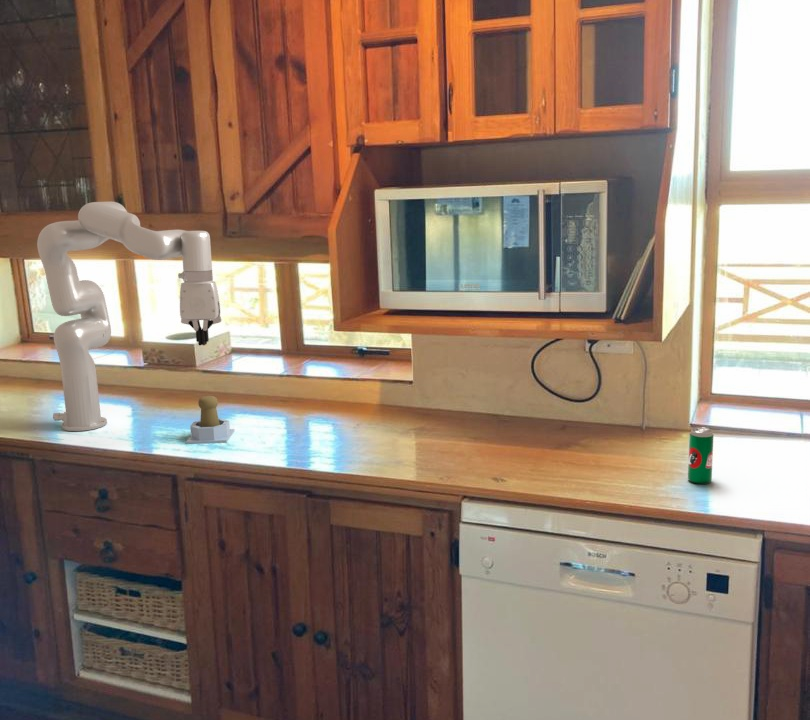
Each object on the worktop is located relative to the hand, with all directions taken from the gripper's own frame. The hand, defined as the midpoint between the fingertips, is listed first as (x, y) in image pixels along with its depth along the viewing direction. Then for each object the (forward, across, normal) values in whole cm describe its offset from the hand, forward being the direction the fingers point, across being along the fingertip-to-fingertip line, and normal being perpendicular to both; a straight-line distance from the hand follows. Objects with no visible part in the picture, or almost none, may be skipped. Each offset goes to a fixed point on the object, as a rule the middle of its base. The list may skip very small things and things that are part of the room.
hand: (202, 344), depth 233 cm
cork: (+26, 0, 0) cm, 26 cm away
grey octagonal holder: (+26, +1, 0) cm, 26 cm away
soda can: (+25, +120, -47) cm, 132 cm away
